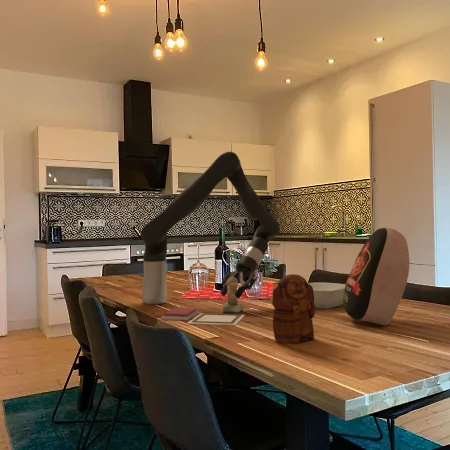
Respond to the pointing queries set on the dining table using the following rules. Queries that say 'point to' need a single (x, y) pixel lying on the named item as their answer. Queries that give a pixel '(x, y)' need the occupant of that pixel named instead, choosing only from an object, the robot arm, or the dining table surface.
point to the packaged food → (378, 278)
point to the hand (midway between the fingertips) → (229, 295)
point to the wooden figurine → (293, 310)
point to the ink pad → (180, 314)
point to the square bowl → (328, 294)
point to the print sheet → (217, 319)
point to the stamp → (232, 298)
